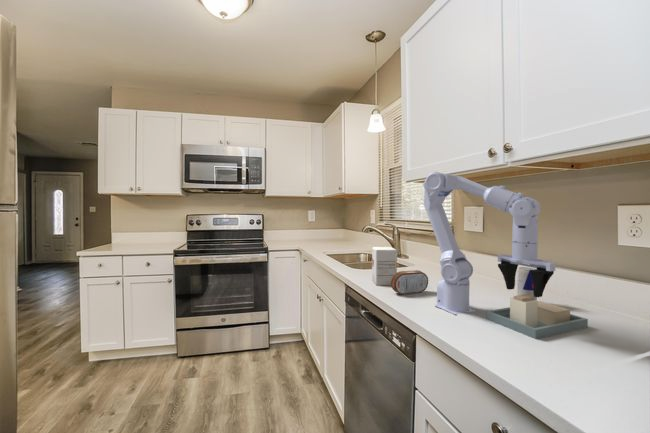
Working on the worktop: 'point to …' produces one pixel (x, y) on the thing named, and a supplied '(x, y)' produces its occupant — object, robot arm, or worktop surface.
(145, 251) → the worktop surface
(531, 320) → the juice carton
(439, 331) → the worktop surface
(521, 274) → the energy drink
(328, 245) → the worktop surface
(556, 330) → the tray
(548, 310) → the tan stepped block
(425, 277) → the tin
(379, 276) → the supplement box
